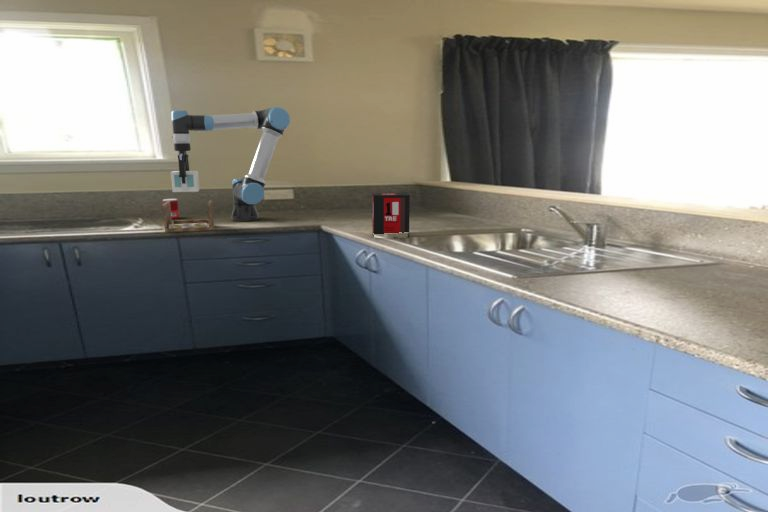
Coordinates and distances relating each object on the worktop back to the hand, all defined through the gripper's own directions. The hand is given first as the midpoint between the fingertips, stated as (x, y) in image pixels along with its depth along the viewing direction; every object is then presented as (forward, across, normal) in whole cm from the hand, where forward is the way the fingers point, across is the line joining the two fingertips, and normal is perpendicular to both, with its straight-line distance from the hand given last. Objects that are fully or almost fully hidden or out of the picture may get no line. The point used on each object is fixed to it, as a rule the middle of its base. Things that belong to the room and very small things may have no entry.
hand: (186, 189), depth 253 cm
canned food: (+20, -37, -16) cm, 45 cm away
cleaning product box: (+20, +42, +98) cm, 108 cm away
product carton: (+1, 0, 0) cm, 1 cm away
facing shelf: (+20, +1, +1) cm, 20 cm away
